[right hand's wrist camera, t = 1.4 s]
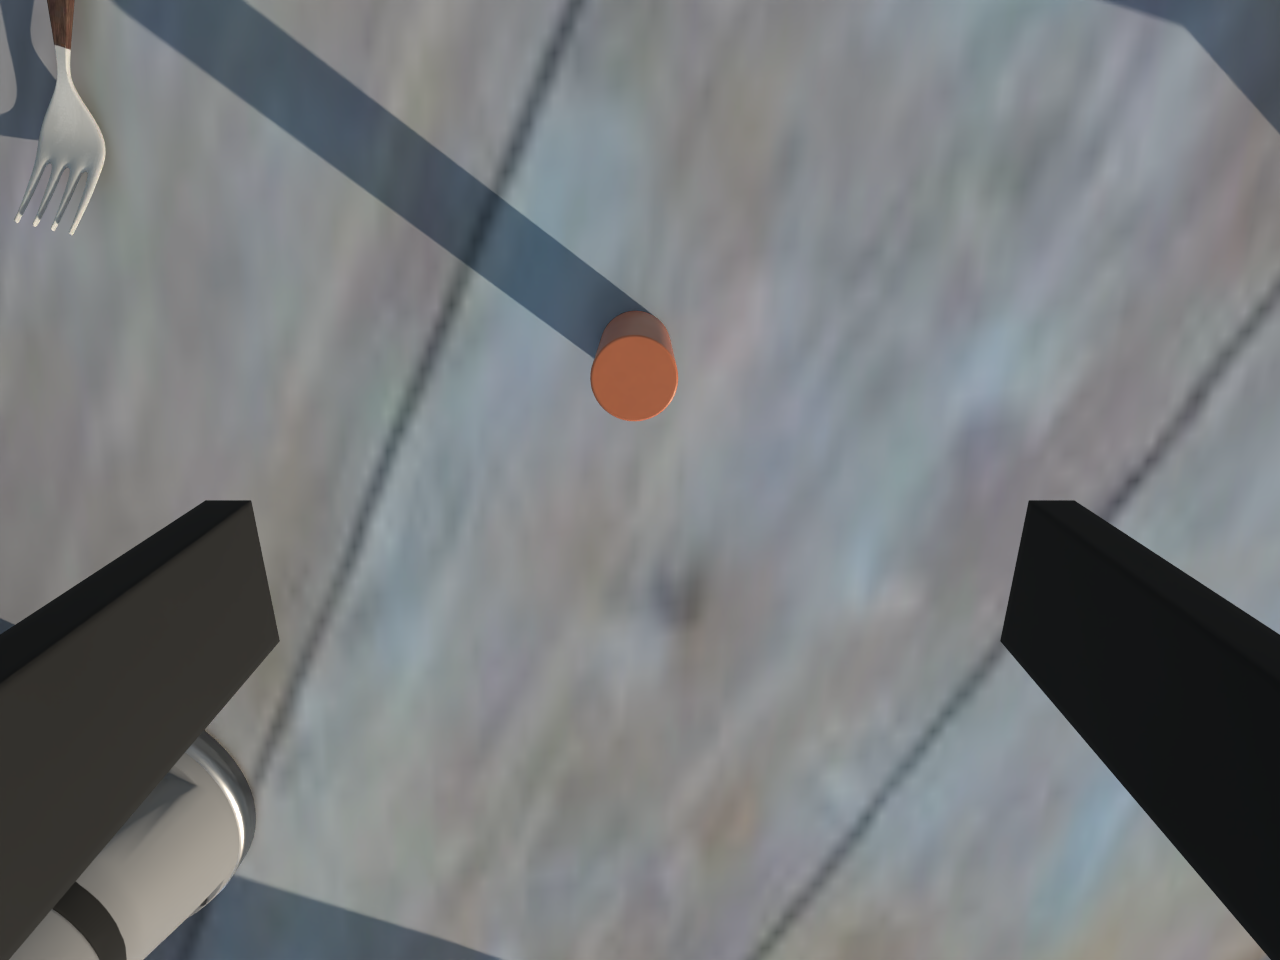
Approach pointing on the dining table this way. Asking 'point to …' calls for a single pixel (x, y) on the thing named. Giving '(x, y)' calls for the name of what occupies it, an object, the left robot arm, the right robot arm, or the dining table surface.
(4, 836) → the right robot arm
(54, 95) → the fork
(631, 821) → the dining table surface
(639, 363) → the peg
